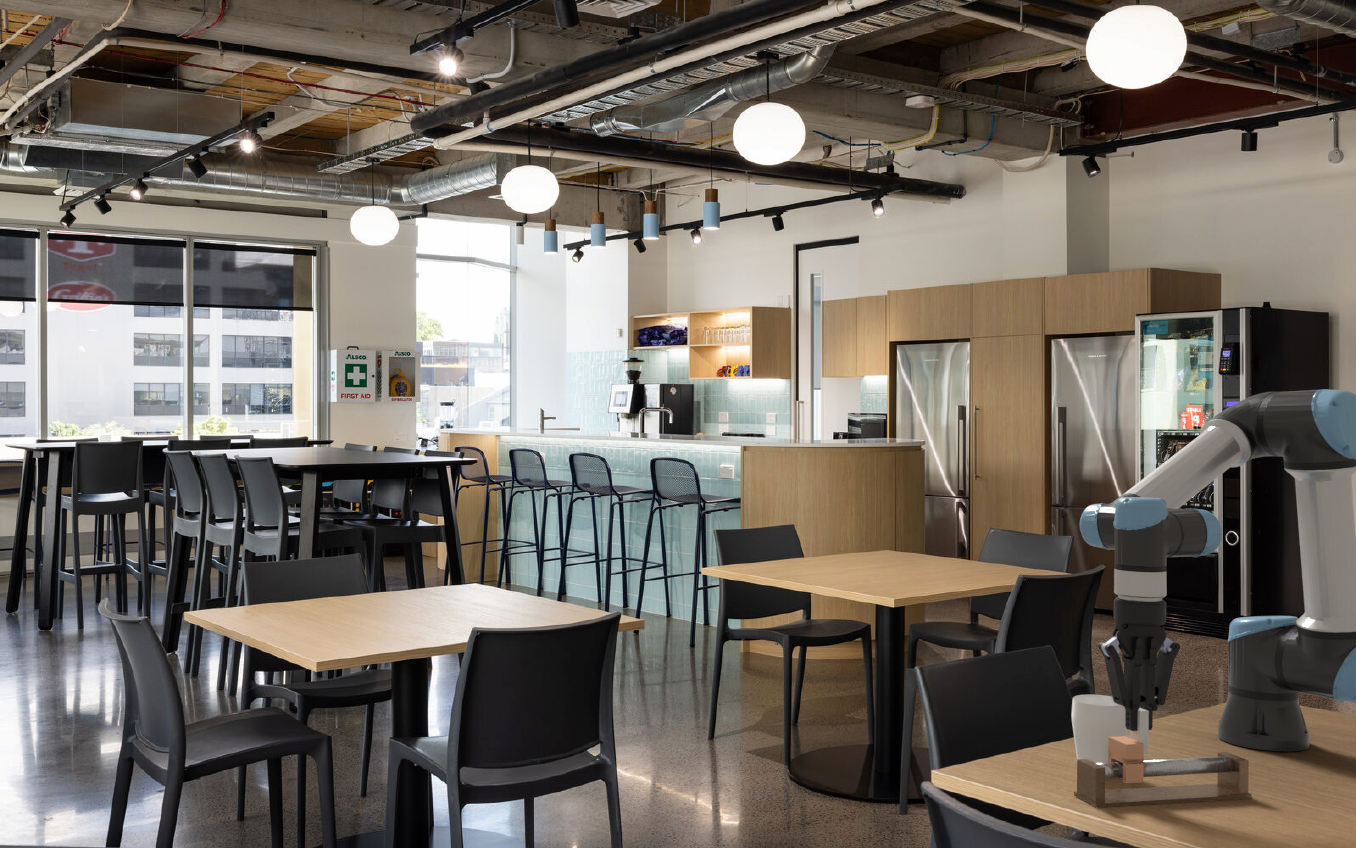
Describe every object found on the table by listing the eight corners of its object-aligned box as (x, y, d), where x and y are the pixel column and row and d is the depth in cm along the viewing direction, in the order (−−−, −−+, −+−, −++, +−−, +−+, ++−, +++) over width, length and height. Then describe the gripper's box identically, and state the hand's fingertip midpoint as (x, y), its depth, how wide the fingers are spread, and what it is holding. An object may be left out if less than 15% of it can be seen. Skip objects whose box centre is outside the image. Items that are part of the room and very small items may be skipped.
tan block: (1125, 773, 179) (1125, 736, 179) (1143, 782, 174) (1143, 743, 174) (1107, 774, 178) (1108, 737, 178) (1125, 783, 174) (1126, 744, 174)
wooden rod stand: (1225, 787, 183) (1225, 751, 184) (1251, 798, 178) (1251, 761, 178) (1073, 795, 178) (1074, 758, 178) (1096, 808, 172) (1096, 769, 172)
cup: (1133, 783, 185) (1134, 708, 185) (1074, 778, 187) (1075, 704, 187) (1123, 767, 194) (1124, 696, 194) (1067, 763, 196) (1068, 693, 196)
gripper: (1161, 593, 182) (1160, 743, 182) (1088, 595, 179) (1086, 747, 179) (1192, 600, 175) (1191, 756, 175) (1116, 601, 172) (1115, 760, 172)
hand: (1138, 751), depth 177 cm, fingers closed
